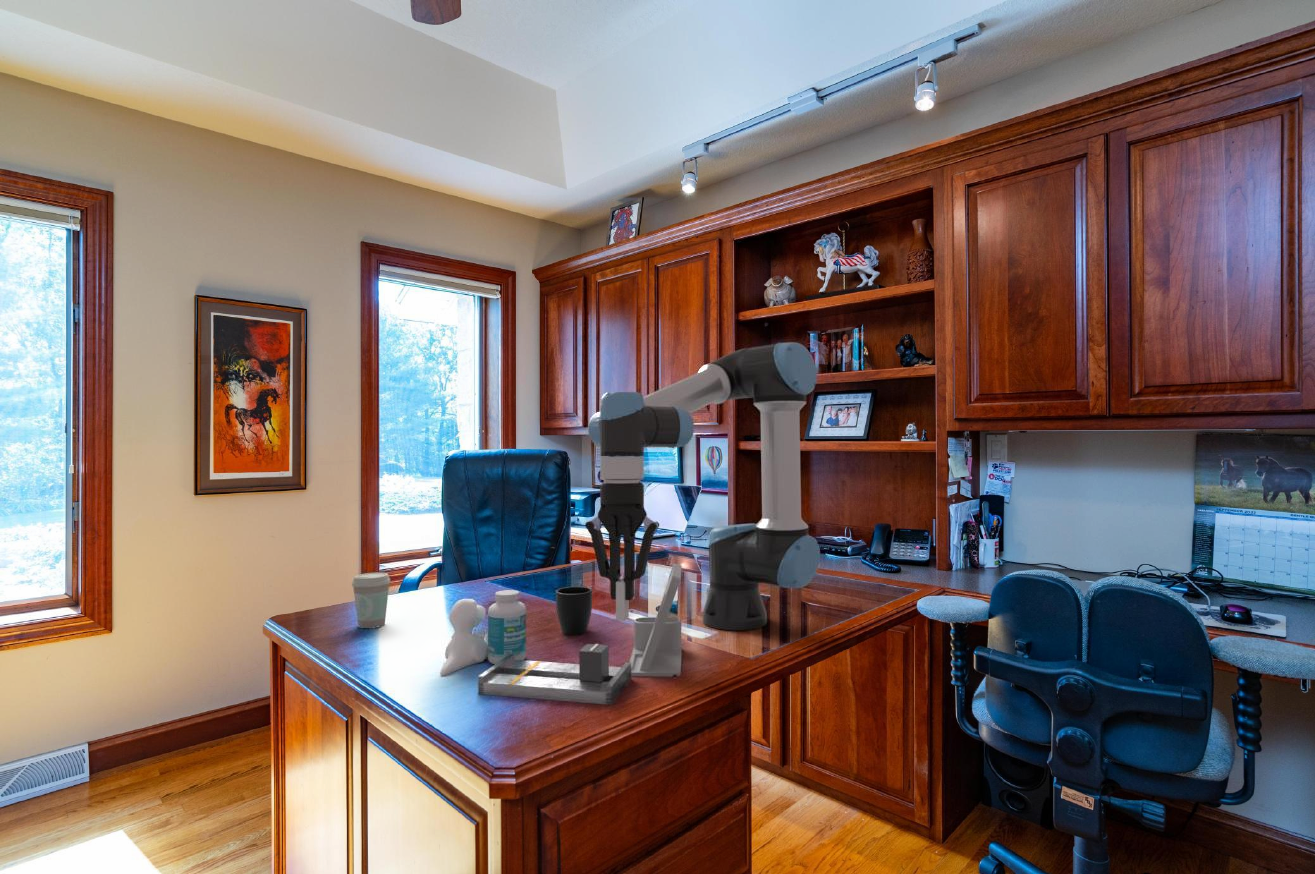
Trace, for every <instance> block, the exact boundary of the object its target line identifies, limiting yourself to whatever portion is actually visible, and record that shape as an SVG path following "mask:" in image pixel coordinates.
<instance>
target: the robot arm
mask: <svg viewBox="0 0 1315 874" xmlns="http://www.w3.org/2000/svg"><path fill="white" fill-rule="evenodd" d="M817 373H818V371H817V367H816V362H815V361H814V357H813V356H812V354H811V353H810V351H809V350H808V348H806V347H805V345H803V344H802V343H799V342H791V341H789V342H777V343H772V344H767V345H766V344H765V345H760V346H754V347H745V348H741V349H738V350H734V351H733V352H731V353H728V354H726V355H723V356H722V357H719V358H717V359H715V360H713V361H711V362H709V363H707V364H704V365H703V366H701V368H700V369H699V370H698V372H697V373H695V374H692V375H690V376H688V377H685V378H684V379H681V380H678V381H676V382H675V383H672V384H668V385H667V386H665V387H663V388H661V389H657V390H656V391H653V392H651V393H649V394H647V395H643V394H642V393H640V392H637V391H636V392H635V391H610V392H605V393H604V394H603V395H602V396H601V399H600V409H599V411H598V412H596V413H594V414H593V415H592V416H591V417H590V419H589V422H588V427H587V431H588V432H587V433H588V436H589V439H590V441H591V442H592V443H593V444H594V445H595V446H598V447H600V458H599V459H600V461H599V462H600V463H599V464H600V465H599V466H600V470H599V471H600V473H599V475H600V477H599V478H600V480H602V481H603V482H602V483H601V484H600V490H599V491H600V492H599V494H600V495H599V496H600V498H599V499H600V508H599V510H598V512H597V516H596V517H594V518H593V519H591V520H588V521H587V522H585V525H584V526H585V528H586V530H587V531H588V533H589V535H590V538H591V541H592V547H593V550H594V555H595V559H596V564H597V567H598V568H597V569H598V572H599V573H598V574H599V576H600V577H602V578H606V579H608V580H609V582H610V598H611V599H610V600H615V621H617V622H619V621H621V622H623V621H624V622H625V621H626V620H627V619H628V618H629V617H630V614H629V613H630V612H629V611H630V610H629V609H630V606H629V605H630V604H629V603H630V601H632V600H633V599H634V597H635V580H638V579H641V578H642V577H643V576H645V573H646V570H647V566H648V560H649V557H650V552H651V548H652V543H653V539H654V535H655V534H656V532H657V530H658V529H659V527H660V523H659V522H658V521H654V520H652V519H651V518H650V517H648V514H647V511H646V509H645V494H644V493H645V491H644V490H645V488H644V487H645V485H644V484H643V482H641V480H643V479H644V478H645V476H644V475H645V472H644V471H645V470H644V469H645V467H644V466H645V463H644V462H645V460H644V457H645V456H644V455H645V453H644V452H645V449H644V448H669V449H675V448H681V447H684V446H686V445H688V443H690V441H691V440H692V438H693V436H694V432H695V425H694V424H695V421H694V419H693V416H692V415H691V414H692V413H695V412H696V411H699V410H700V409H702V408H705V407H707V406H709V405H711V404H715V405H719V404H723V403H724V402H728V401H731V400H740V399H749V398H750V399H752V398H753V406H754V407H756V408H757V410H759V412H760V454H761V455H760V458H761V460H760V461H761V464H760V465H761V470H760V472H761V515H762V516H761V519H760V520H759V521H758V522H757V523H741V524H740V523H739V524H730V525H724V526H723V525H721V526H717V527H713V528H712V529H711V530H710V532H709V536H708V537H709V539H708V541H709V542H708V544H707V545H708V562H709V563H708V566H709V571H708V572H709V591H708V594H707V597H706V601H705V604H704V607H703V611H702V623H703V624H704V625H706V626H708V627H710V628H714V629H719V630H724V631H725V630H727V631H748V630H749V631H750V630H756V629H759V628H762V627H764V626H766V625H767V623H768V616H767V610H766V607H765V604H764V602H763V598H762V595H761V592H760V585H759V584H766V585H772V586H777V587H780V588H784V589H787V588H790V589H801V588H804V587H805V586H807V585H808V584H810V583H811V581H812V580H813V579H814V576H815V575H816V573H817V571H818V569H819V564H820V559H821V558H820V557H821V550H820V545H819V543H818V540H817V539H816V538H815V537H813V536H811V535H809V525H808V524H807V523H806V522H805V521H804V519H803V518H802V496H801V495H802V486H801V478H802V477H801V433H800V432H801V431H800V430H801V428H800V427H801V426H800V423H801V422H800V419H801V418H800V411H801V409H803V407H804V406H805V405H806V404H807V395H809V394H810V393H812V392H813V391H814V389H815V387H816V385H817V382H818V374H817ZM602 525H603V526H602ZM642 525H643V531H644V533H643V536H642V540H641V546H640V548H639V552H638V558H637V562H636V561H635V560H636V559H635V558H636V551H635V547H636V545H635V544H636V543H635V542H636V541H635V540H636V533H637V532H638V530H639V529H640V528H641V527H642ZM602 527H604V528H605V530H606V531H607V533H608V541H609V557H608V555H607V549H606V545H605V540H604V537H603V533H602V530H601V529H602ZM621 539H622V540H623V554H624V555H623V556H624V557H623V560H624V561H623V566H624V567H623V578H622V574H621ZM635 563H636V564H635Z"/></svg>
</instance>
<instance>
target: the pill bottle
mask: <svg viewBox="0 0 1315 874" xmlns="http://www.w3.org/2000/svg"><path fill="white" fill-rule="evenodd" d="M494 599H495V601H496V602H494V603H492V604H491V605H490V606H489V608H488V611H487V629H488V630H487V631H488V658H487V660H488V662H489V663H491V664H493V665H495V664H496V663H498V662H499V661H501V660H502V659H504V658H505V657H506V656H508V655H509V654H515V660H525V659H526V657H527V606H526V604H525V603H523V602H521V601H519V599H520V591H518V590H515V589H507V590H506V589H505V590H499V591H496V592H495V593H494Z"/></svg>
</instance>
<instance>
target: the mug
mask: <svg viewBox="0 0 1315 874" xmlns="http://www.w3.org/2000/svg"><path fill="white" fill-rule="evenodd" d="M555 607H556V614H557V618H558V623H559V625H560V628H561V632H562V634H563V635H565V636H579V635H580V636H581V635H583V634H586V633H587V631H588V626H589V623H590V620H591V616H592V609H593V589H592V588H591V587H588V586H587V587H586V586H582V585H581V586H566V587H560V588H558V589H557V590H555Z"/></svg>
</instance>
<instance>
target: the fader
mask: <svg viewBox="0 0 1315 874" xmlns="http://www.w3.org/2000/svg"><path fill="white" fill-rule="evenodd" d="M609 648H610V647H609V645H608V644H606V645H605V644H599V643H595V644H594V643H593V644H590V643H589V644H588V643H587V644H585V645H584V646H583V647H582V648H581V649H580V650H579V651H578V653H579V655H578V662H579V663H578V664H579V677H580V680H582V681H595V682H604V680H605V678H606V676H607V675H608V674H609V666H610V665H609V664H610V660H609V659H610V658H609V657H610V656H609V655H610V652H609Z"/></svg>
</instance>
